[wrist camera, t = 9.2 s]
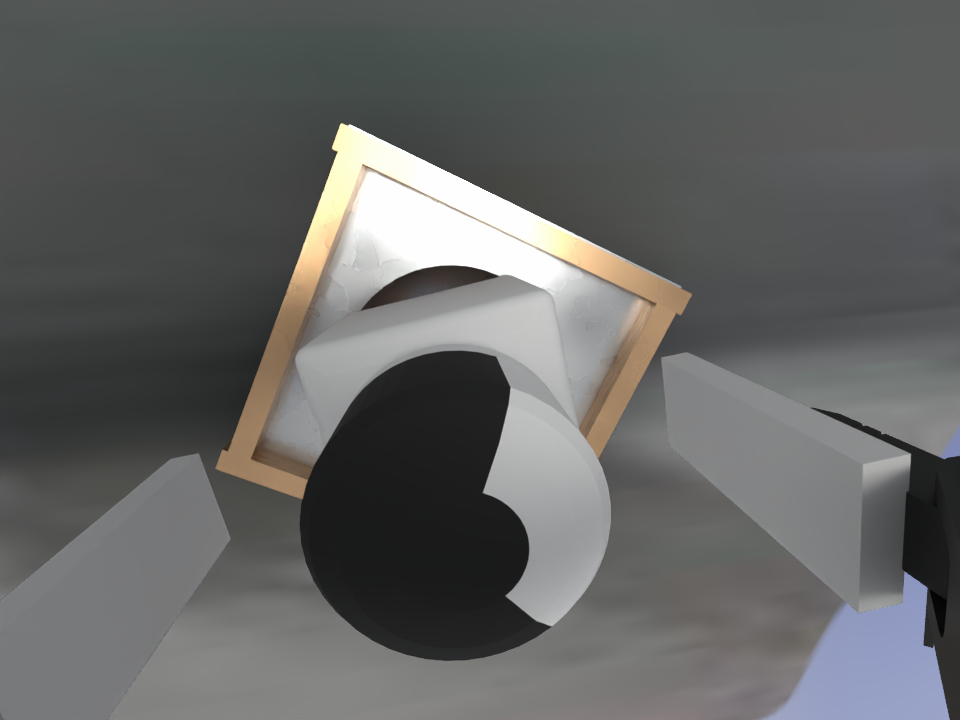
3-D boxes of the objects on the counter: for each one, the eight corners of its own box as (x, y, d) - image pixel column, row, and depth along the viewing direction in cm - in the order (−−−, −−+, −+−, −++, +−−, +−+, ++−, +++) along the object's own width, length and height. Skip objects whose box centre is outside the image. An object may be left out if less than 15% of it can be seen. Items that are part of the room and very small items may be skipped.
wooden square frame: (234, 452, 23) (213, 473, 21) (354, 130, 20) (343, 116, 18) (527, 557, 26) (535, 585, 24) (671, 284, 23) (695, 288, 21)
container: (391, 470, 23) (327, 751, 10) (343, 314, 21) (189, 420, 8) (548, 431, 23) (678, 660, 10) (514, 272, 21) (621, 313, 8)
